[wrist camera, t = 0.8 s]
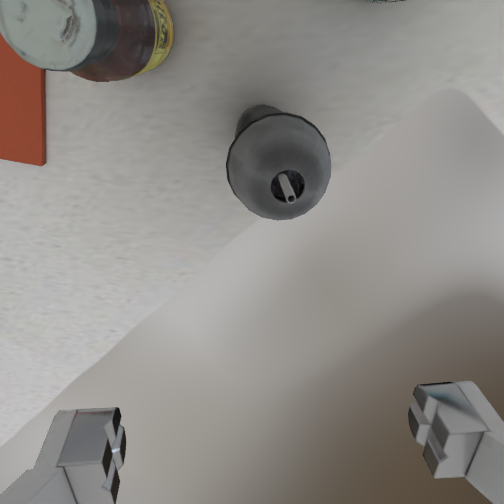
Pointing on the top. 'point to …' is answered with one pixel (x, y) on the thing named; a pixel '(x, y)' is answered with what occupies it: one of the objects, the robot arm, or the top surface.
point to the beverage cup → (277, 163)
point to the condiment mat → (21, 109)
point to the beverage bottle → (385, 0)
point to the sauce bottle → (89, 35)
